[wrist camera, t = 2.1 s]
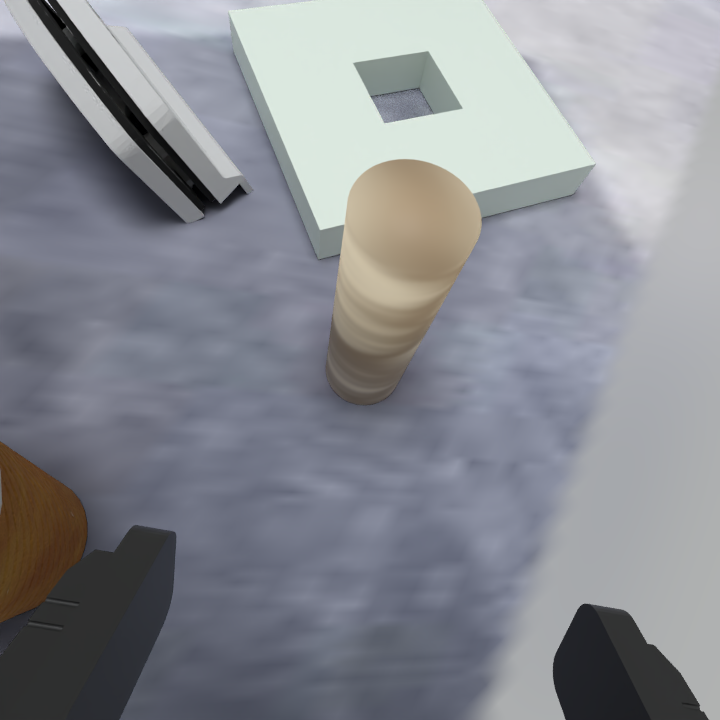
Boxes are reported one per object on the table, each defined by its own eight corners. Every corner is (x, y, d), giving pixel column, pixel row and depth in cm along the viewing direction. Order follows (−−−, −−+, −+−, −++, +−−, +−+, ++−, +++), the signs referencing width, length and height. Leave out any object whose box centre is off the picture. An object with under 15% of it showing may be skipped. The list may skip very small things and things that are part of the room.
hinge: (256, 194, 32) (178, 83, 23) (201, 237, 32) (99, 146, 23) (139, 44, 36) (29, -104, 27) (90, 82, 36) (-37, -51, 27)
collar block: (318, 259, 31) (320, 230, 28) (233, 51, 37) (228, 11, 34) (573, 194, 35) (596, 163, 33) (458, 19, 42) (470, -18, 39)
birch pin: (341, 415, 27) (377, 285, 14) (315, 347, 28) (327, 173, 16) (411, 391, 28) (505, 250, 15) (383, 327, 29) (446, 148, 17)
